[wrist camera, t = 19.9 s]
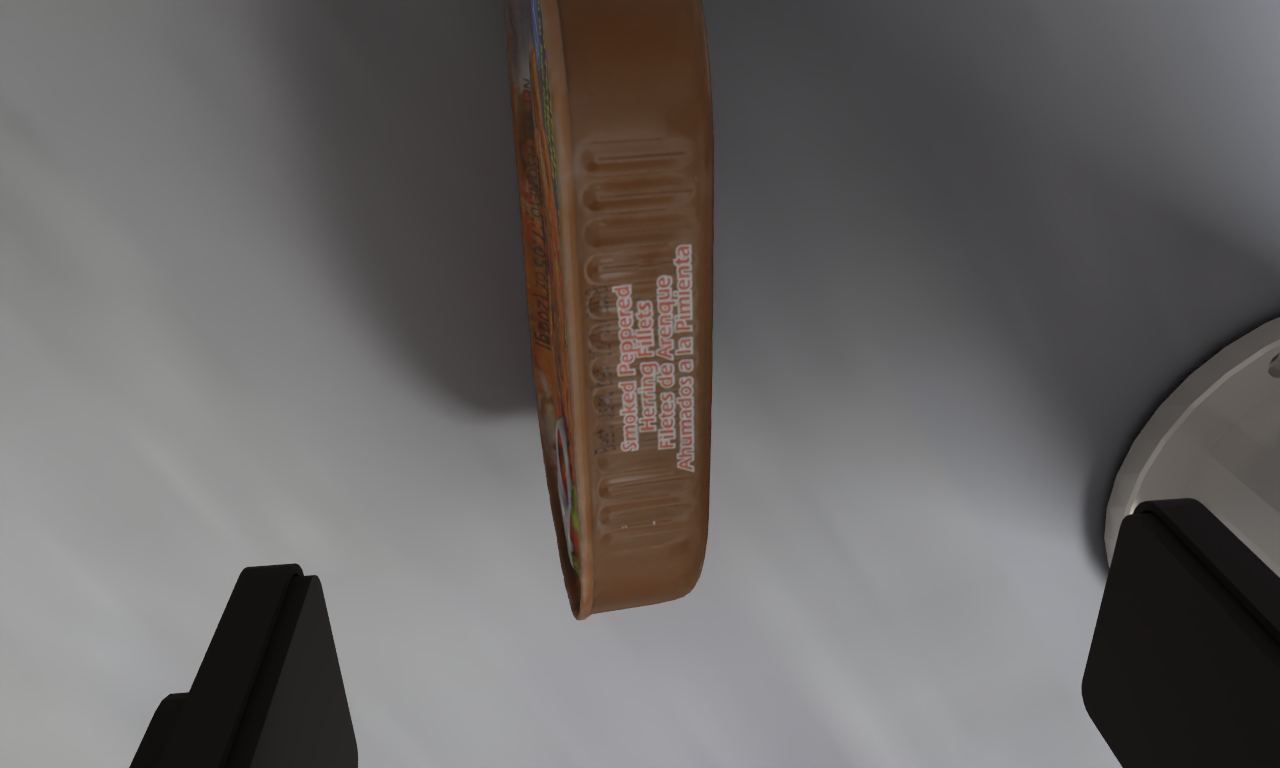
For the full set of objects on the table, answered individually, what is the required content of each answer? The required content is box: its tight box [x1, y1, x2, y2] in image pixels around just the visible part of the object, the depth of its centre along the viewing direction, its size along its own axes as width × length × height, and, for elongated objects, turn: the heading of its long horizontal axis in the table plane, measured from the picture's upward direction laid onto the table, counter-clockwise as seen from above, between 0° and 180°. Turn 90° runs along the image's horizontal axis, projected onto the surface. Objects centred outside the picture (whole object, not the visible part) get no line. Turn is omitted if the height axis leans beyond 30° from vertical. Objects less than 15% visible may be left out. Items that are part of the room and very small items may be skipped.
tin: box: [504, 0, 714, 620], centre depth 20 cm, size 15×3×8 cm, turn 1°
